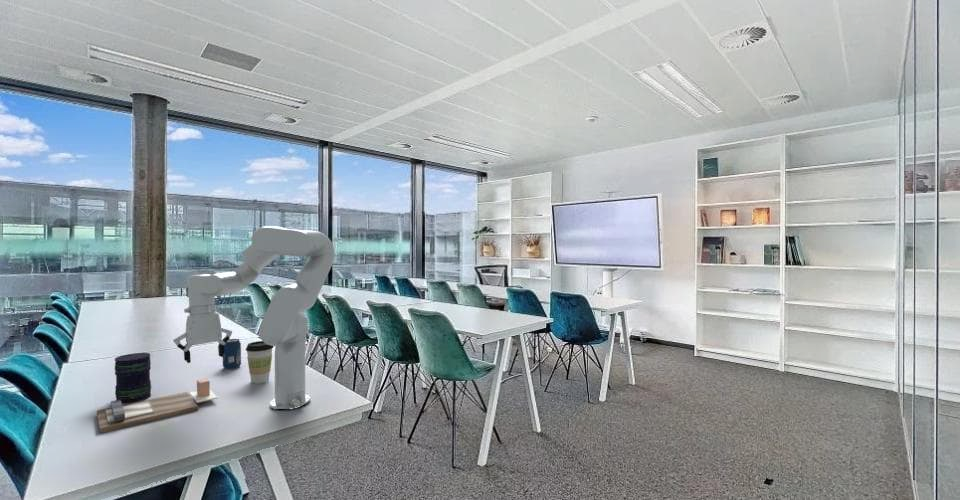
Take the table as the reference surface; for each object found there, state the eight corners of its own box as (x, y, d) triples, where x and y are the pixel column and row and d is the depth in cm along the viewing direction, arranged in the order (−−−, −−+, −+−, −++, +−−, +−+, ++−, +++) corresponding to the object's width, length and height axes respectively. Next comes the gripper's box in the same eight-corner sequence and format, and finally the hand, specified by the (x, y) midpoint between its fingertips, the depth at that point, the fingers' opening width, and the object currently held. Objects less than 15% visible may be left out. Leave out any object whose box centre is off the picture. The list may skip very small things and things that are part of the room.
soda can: (223, 366, 188) (223, 339, 188) (241, 364, 191) (241, 337, 191) (221, 370, 182) (221, 342, 182) (240, 368, 185) (240, 341, 185)
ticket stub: (217, 398, 146) (217, 382, 146) (196, 402, 142) (196, 386, 142) (209, 389, 155) (209, 374, 155) (189, 393, 150) (189, 378, 150)
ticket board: (198, 410, 140) (197, 398, 139) (99, 433, 123) (99, 420, 123) (187, 395, 152) (186, 385, 152) (96, 415, 136) (96, 402, 136)
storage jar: (156, 396, 152) (155, 355, 151) (122, 406, 143) (121, 361, 143) (143, 391, 157) (143, 351, 156) (110, 400, 148) (109, 357, 148)
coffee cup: (253, 387, 162) (252, 347, 161) (241, 381, 168) (240, 344, 167) (278, 380, 169) (278, 342, 169) (266, 375, 175) (266, 339, 175)
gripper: (174, 314, 139) (176, 367, 139) (233, 307, 151) (235, 355, 151) (170, 312, 144) (172, 362, 145) (227, 305, 156) (230, 352, 157)
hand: (205, 359), depth 148 cm, fingers open, 9 cm apart
